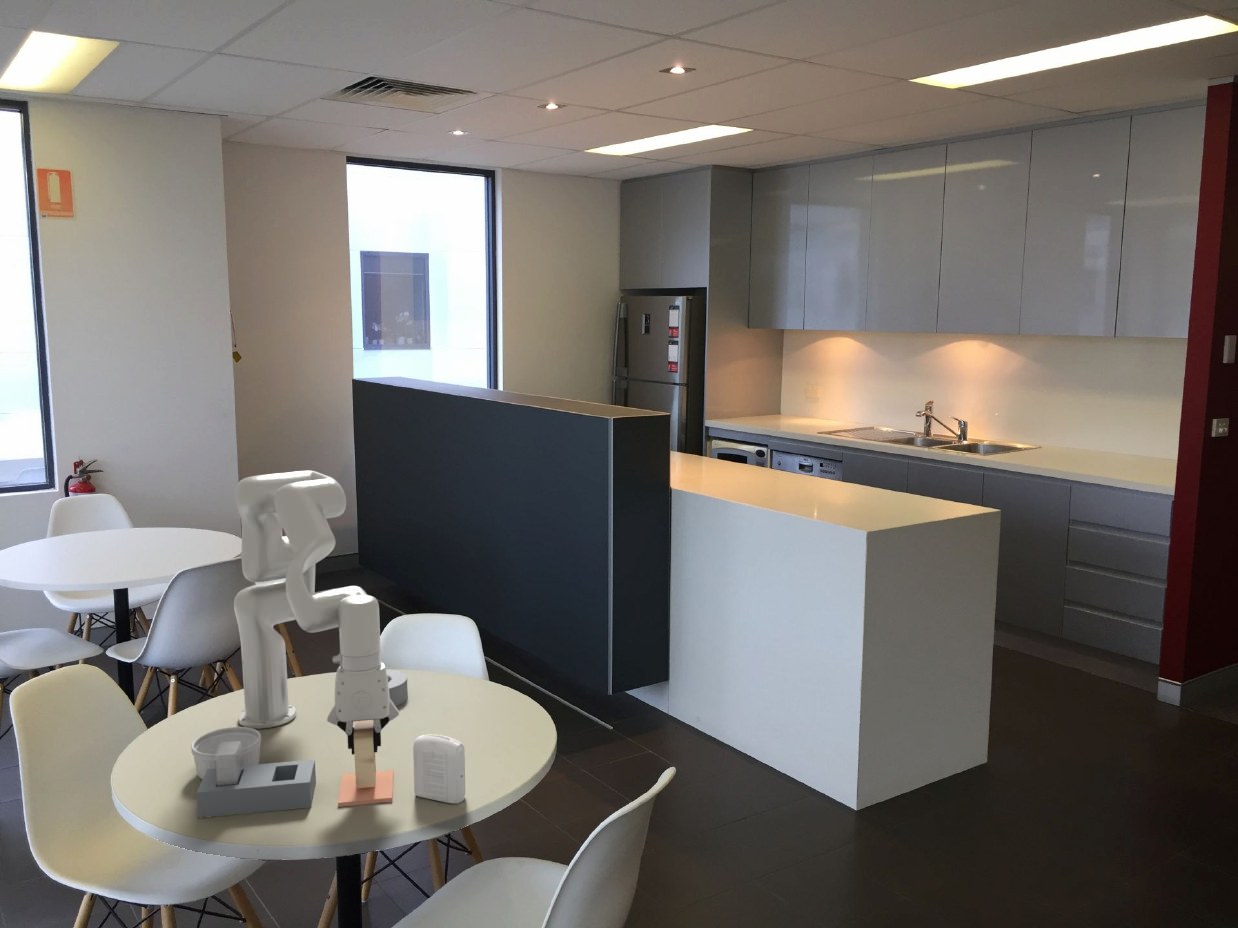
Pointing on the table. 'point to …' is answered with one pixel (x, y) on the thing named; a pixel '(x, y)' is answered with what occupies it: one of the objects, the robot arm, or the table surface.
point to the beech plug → (364, 754)
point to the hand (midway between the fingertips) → (364, 749)
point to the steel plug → (229, 763)
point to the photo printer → (439, 768)
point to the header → (259, 789)
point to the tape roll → (397, 686)
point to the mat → (366, 790)
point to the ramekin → (211, 741)
